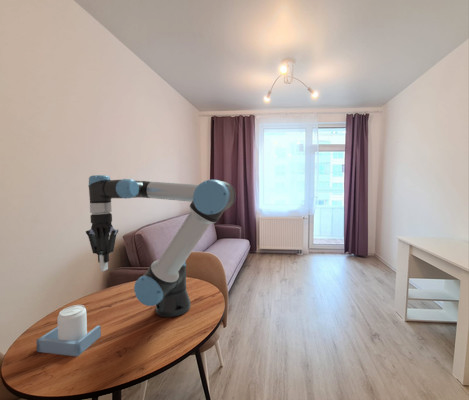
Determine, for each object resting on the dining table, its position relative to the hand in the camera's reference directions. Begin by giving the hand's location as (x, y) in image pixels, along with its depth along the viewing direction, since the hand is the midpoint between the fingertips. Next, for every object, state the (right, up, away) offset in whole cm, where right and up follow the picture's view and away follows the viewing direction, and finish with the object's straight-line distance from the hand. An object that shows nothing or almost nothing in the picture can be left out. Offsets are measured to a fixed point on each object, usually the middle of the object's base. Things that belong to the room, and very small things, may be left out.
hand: (104, 270), depth 90 cm
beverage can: (-3, -22, -14) cm, 26 cm away
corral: (-4, -21, -14) cm, 26 cm away
